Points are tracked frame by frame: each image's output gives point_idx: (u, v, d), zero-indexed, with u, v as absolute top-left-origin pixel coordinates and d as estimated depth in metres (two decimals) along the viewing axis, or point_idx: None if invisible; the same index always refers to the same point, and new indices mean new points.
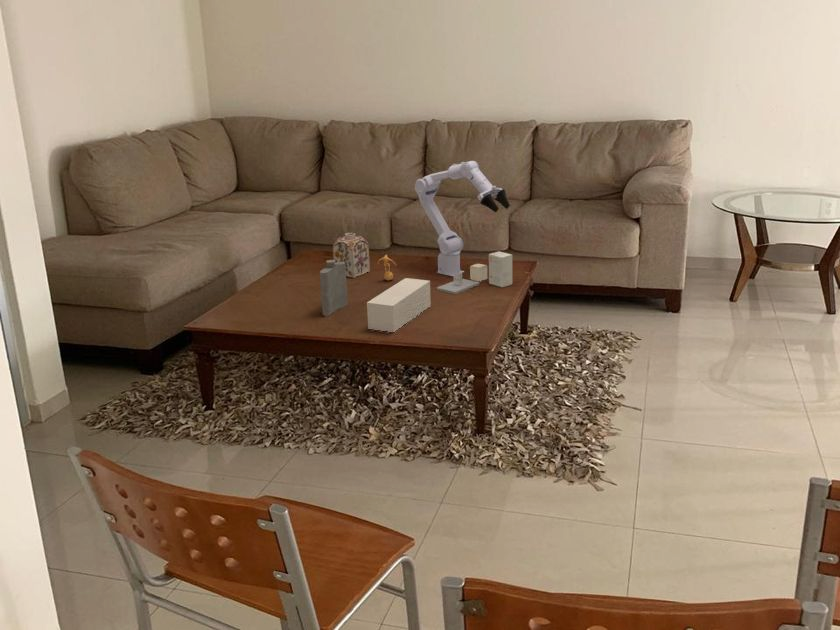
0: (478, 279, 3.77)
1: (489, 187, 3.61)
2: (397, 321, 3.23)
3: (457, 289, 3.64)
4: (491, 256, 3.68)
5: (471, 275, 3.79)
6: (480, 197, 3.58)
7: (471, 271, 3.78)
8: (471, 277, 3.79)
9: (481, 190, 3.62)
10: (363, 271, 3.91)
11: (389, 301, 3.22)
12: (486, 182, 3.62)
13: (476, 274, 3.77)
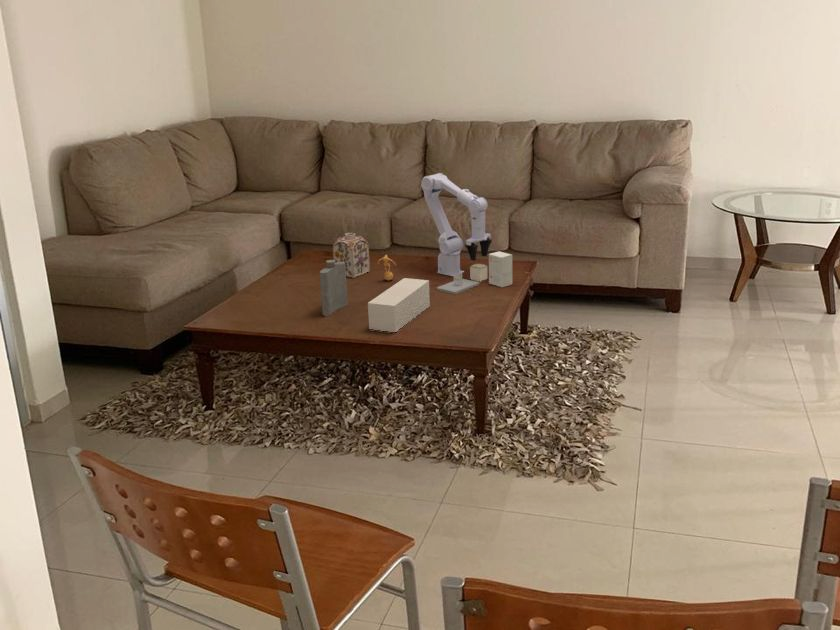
0: (478, 279, 3.77)
1: (481, 236, 3.71)
2: (398, 321, 3.23)
3: (457, 289, 3.64)
4: (491, 256, 3.68)
5: (471, 275, 3.79)
6: (468, 243, 3.69)
7: (471, 271, 3.78)
8: (471, 277, 3.79)
9: (473, 233, 3.71)
10: (363, 271, 3.91)
11: (390, 301, 3.22)
12: (482, 230, 3.70)
13: (476, 274, 3.77)
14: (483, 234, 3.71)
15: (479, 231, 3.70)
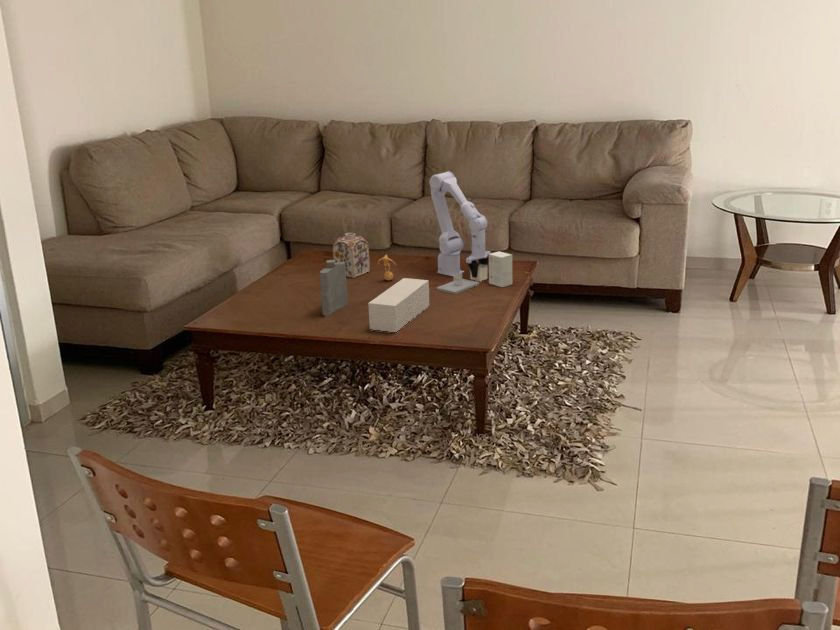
0: (478, 279, 3.77)
1: (481, 254, 3.74)
2: (399, 321, 3.23)
3: (457, 289, 3.64)
4: (491, 256, 3.68)
5: (471, 275, 3.79)
6: (468, 261, 3.72)
7: None
8: (471, 277, 3.79)
9: (473, 251, 3.74)
10: (363, 271, 3.91)
11: (390, 301, 3.22)
12: (482, 248, 3.73)
13: None
14: (483, 252, 3.74)
15: (479, 249, 3.73)
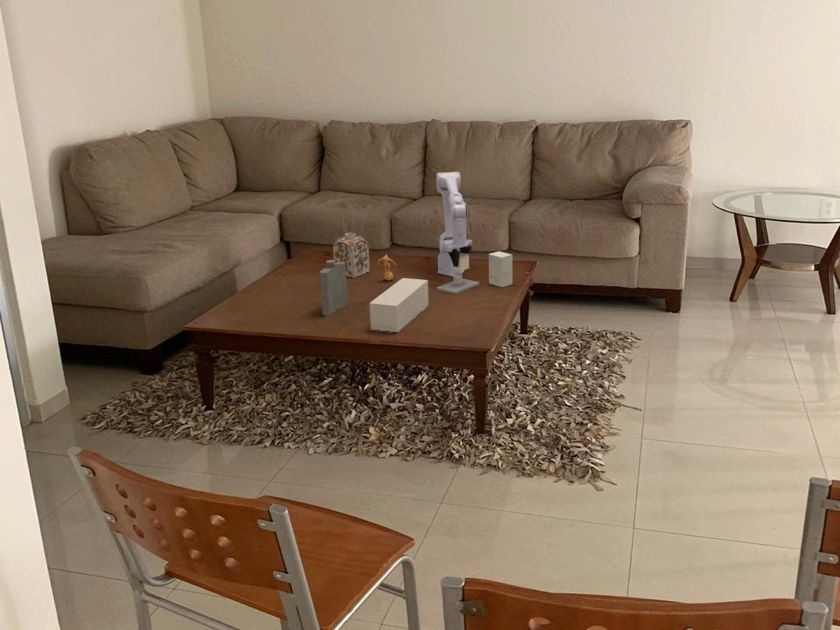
0: (459, 268, 3.65)
1: (462, 243, 3.62)
2: (400, 321, 3.23)
3: (457, 289, 3.64)
4: (491, 256, 3.68)
5: (452, 264, 3.67)
6: (449, 250, 3.60)
7: None
8: (452, 266, 3.67)
9: (454, 239, 3.62)
10: (363, 271, 3.91)
11: (391, 301, 3.22)
12: (463, 237, 3.62)
13: None
14: (464, 240, 3.62)
15: (460, 237, 3.61)
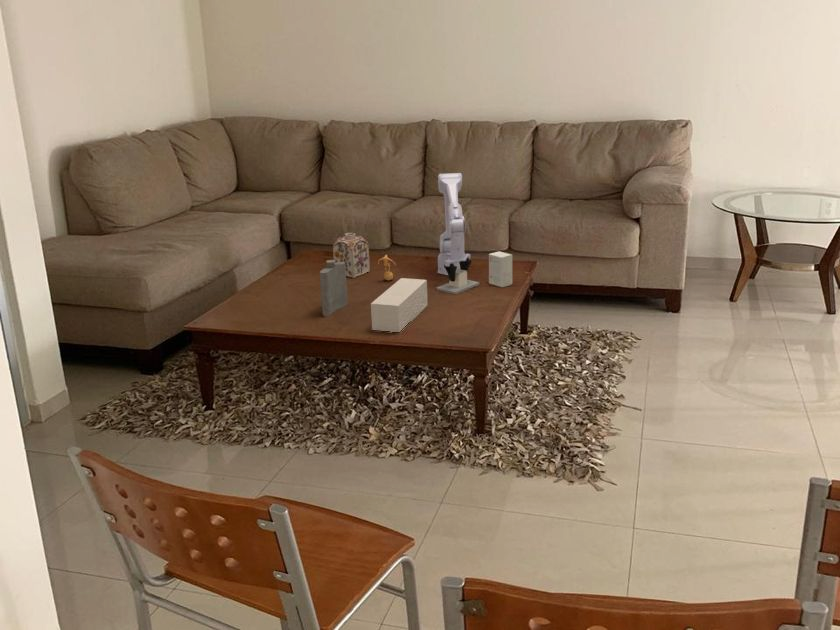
0: (457, 285, 3.67)
1: (460, 257, 3.63)
2: (401, 321, 3.23)
3: (457, 289, 3.64)
4: (491, 256, 3.68)
5: (450, 281, 3.69)
6: (446, 264, 3.61)
7: None
8: (450, 283, 3.69)
9: (452, 254, 3.63)
10: (363, 271, 3.91)
11: (393, 302, 3.22)
12: (461, 251, 3.63)
13: (455, 280, 3.67)
14: (462, 255, 3.63)
15: (458, 252, 3.62)
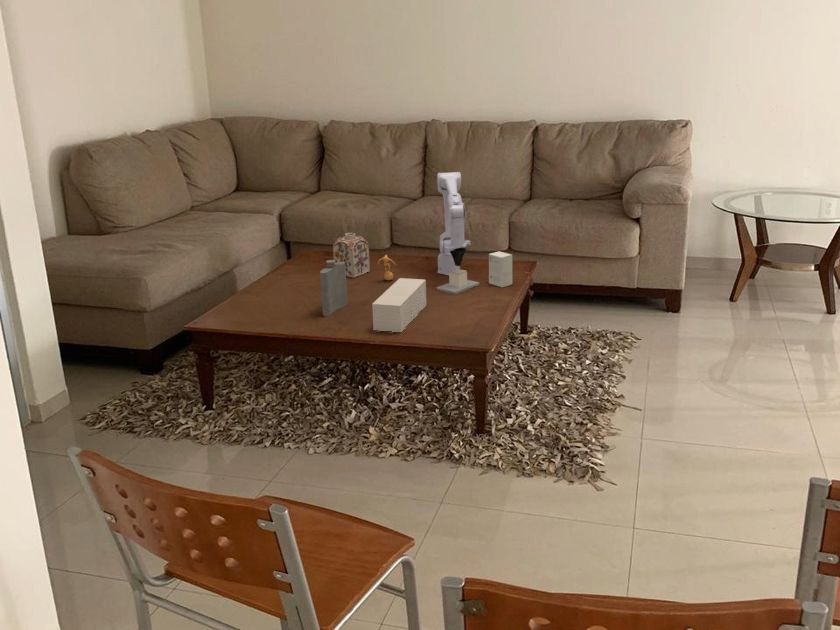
0: (457, 285, 3.67)
1: (460, 243, 3.61)
2: (403, 321, 3.23)
3: (457, 289, 3.64)
4: (491, 256, 3.68)
5: (450, 281, 3.69)
6: (446, 251, 3.59)
7: (450, 277, 3.68)
8: (450, 283, 3.69)
9: (452, 240, 3.62)
10: (363, 271, 3.91)
11: (394, 302, 3.22)
12: (461, 237, 3.61)
13: (455, 280, 3.67)
14: (462, 241, 3.62)
15: (458, 238, 3.60)
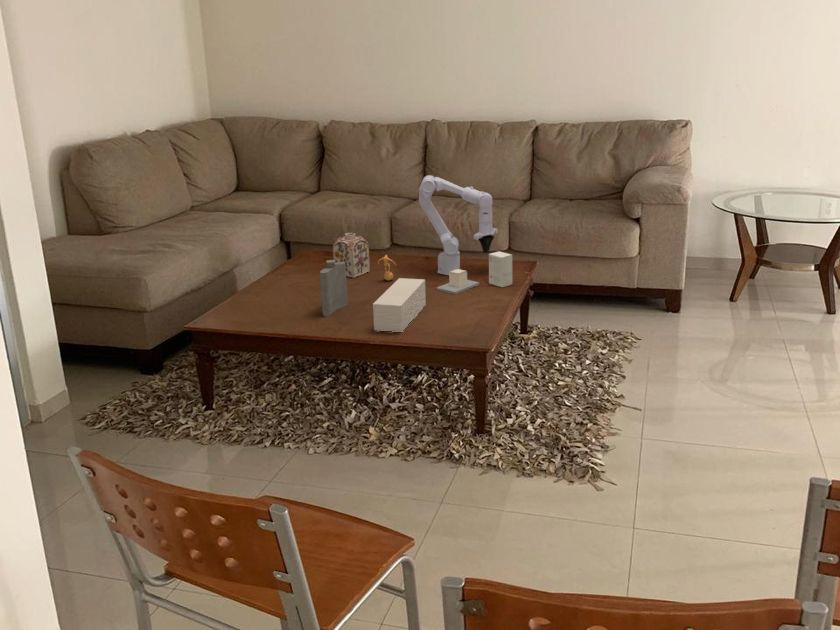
0: (457, 285, 3.67)
1: (488, 231, 3.79)
2: (404, 321, 3.23)
3: (457, 289, 3.64)
4: (491, 256, 3.68)
5: (450, 281, 3.69)
6: (475, 238, 3.77)
7: (450, 277, 3.68)
8: (450, 283, 3.69)
9: (481, 228, 3.79)
10: (363, 271, 3.91)
11: (395, 302, 3.22)
12: (489, 225, 3.79)
13: (455, 280, 3.67)
14: (490, 229, 3.80)
15: (486, 226, 3.78)
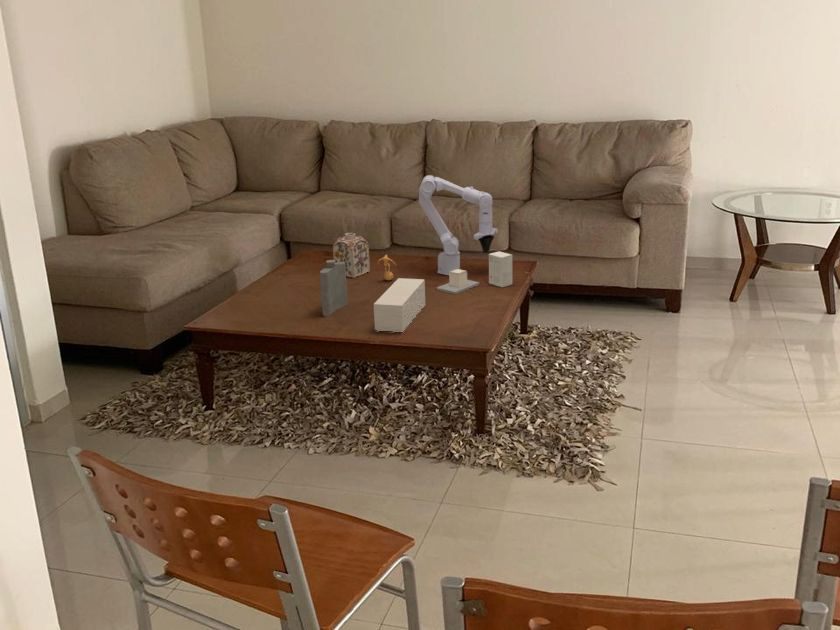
0: (457, 285, 3.67)
1: (488, 231, 3.79)
2: (404, 321, 3.23)
3: (457, 289, 3.64)
4: (491, 256, 3.68)
5: (450, 281, 3.69)
6: (475, 238, 3.77)
7: (450, 277, 3.68)
8: (450, 283, 3.69)
9: (481, 228, 3.79)
10: (363, 271, 3.91)
11: (395, 302, 3.22)
12: (489, 225, 3.79)
13: (455, 280, 3.67)
14: (490, 229, 3.80)
15: (486, 226, 3.78)
